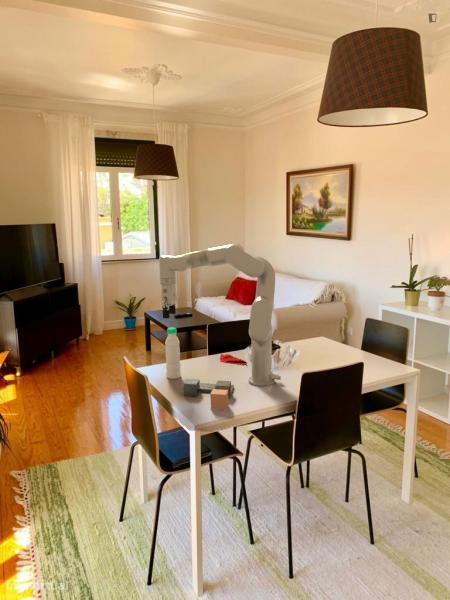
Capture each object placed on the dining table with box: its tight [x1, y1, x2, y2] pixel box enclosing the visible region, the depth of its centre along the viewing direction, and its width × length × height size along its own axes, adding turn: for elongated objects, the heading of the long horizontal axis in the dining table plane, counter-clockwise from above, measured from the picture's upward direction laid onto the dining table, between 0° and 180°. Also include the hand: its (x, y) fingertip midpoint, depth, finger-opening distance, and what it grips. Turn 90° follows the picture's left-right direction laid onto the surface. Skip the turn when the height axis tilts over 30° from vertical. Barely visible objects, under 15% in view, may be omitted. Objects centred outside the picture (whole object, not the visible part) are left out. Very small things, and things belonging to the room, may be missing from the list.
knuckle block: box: [209, 389, 229, 411], centre depth 190 cm, size 6×5×7 cm
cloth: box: [219, 353, 248, 367], centre depth 251 cm, size 26×14×2 cm, turn 22°
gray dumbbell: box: [181, 378, 235, 400], centre depth 206 cm, size 22×13×6 cm, turn 79°
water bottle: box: [164, 327, 182, 380], centre depth 225 cm, size 7×7×25 cm
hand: (169, 315), depth 221 cm, fingers open, 9 cm apart
